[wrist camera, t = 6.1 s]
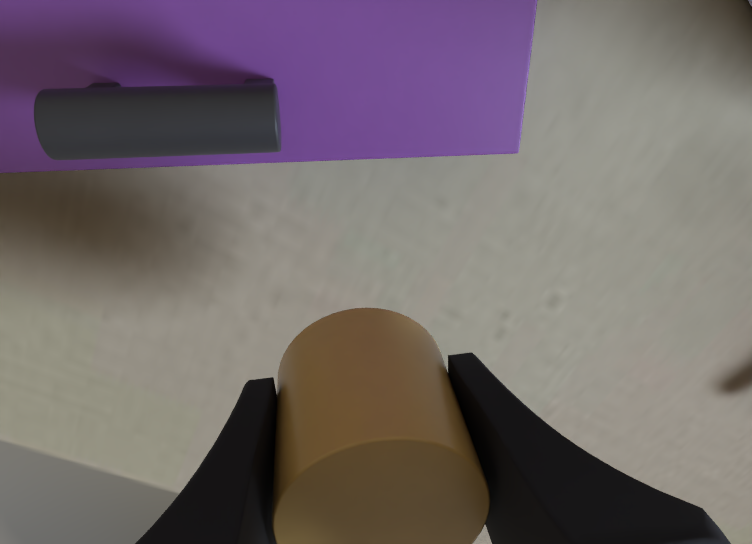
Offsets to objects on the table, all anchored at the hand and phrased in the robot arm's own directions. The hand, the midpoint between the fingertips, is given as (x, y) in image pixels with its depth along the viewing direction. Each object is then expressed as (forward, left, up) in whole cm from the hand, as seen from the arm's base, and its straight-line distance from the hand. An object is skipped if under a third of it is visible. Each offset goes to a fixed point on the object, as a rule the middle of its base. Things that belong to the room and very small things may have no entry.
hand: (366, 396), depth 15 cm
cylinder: (0, 0, -1) cm, 1 cm away
